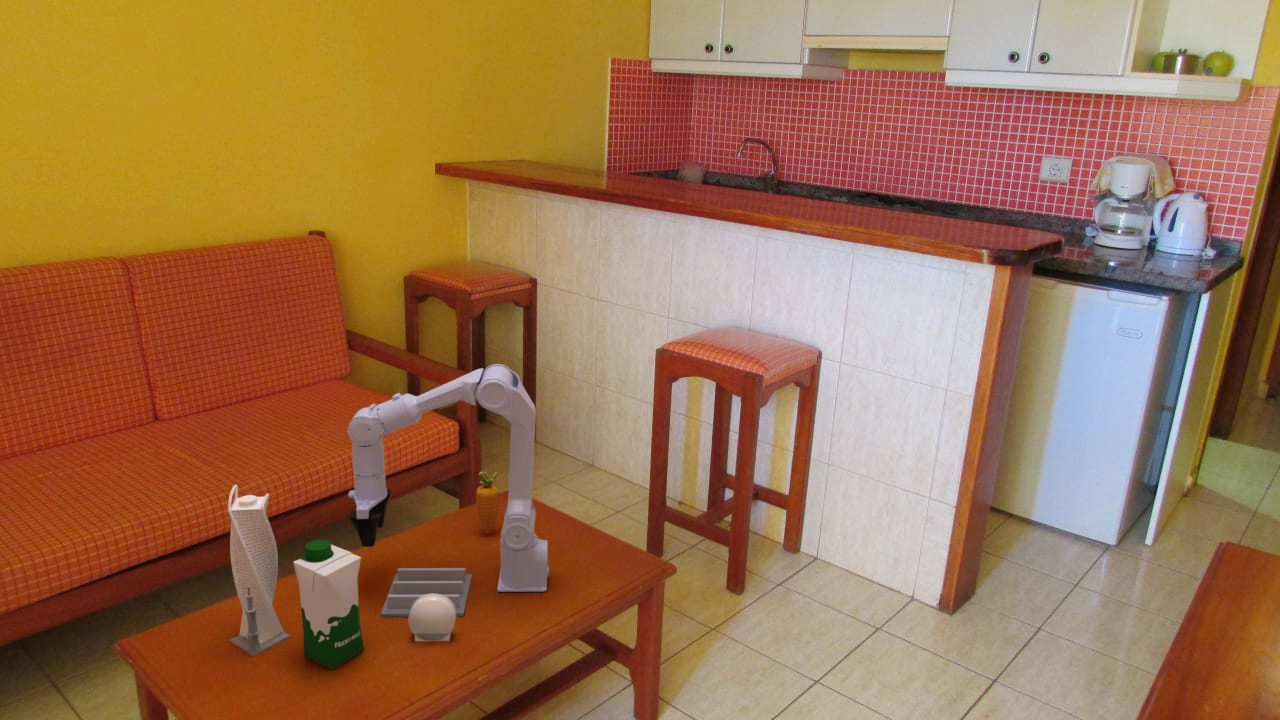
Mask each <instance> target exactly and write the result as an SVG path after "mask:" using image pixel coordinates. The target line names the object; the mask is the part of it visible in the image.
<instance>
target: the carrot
mask: <svg viewBox="0 0 1280 720" xmlns="http://www.w3.org/2000/svg"><path fill="white" fill-rule="evenodd" d="M498 475H499V473H498V472H494V473H493V474H492V477H491V478H490V476H489V474H488V473H487V471H486V472H485V471H480V472H479V473H478V476H479V478H480V481H479V484H480V486H478V487H477V489H476V494H475V495H476V509H477V513H478V518H479V522H480V524H481V527H482V529H483V531H484V533H485V534H486V535H490V534H491V533H492V531H493V529H494V528H495V526H496V523H497V518H498V515H499V504H500V503H499V501H500V498H499V497H500V492H499V489H498V487H497V486H496V485H494V482H495V480H496V478H497V476H498Z"/></svg>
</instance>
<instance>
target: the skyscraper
mask: <svg viewBox="0 0 1280 720" xmlns="http://www.w3.org/2000/svg"><path fill="white" fill-rule="evenodd" d="M238 487H239V486H238V485H237V483H236V484H234V485H233V486H232V488H231V490H230V493H229V495H228V496H229V497H228V500H227V501H228V503H227V513H228V514H229V517H230V519H231V523H230V535H229V536H230V537H229V541H230V542H229V545H230V546H229V551H230V552H229V553H230V554H229V555H230V563H231V569H232V571H231V572H232V576H233V581H234V585H235V588H236V594H237V596H238V599H239V603H240V606H241V608H242V616H241V621H240V628H239V634H238V635H236V636H235V637H232V638H231V639H229V642H230V644H232V643H233V644H232V645H234V644H235V645H234V646H235V647H237V646H238V648H239V647H240V648H241V650H242V649H243V650H242V651H243V652H245V651H246V652H245V653H247V654H248V655H250V654H251V655H250V656H252V657H256V656H258V655H259V654H261V653H263V651H264V652H265V651H267V650H269V649H271V648H273V647H275V646H276V644H277V645H278V643H279V644H280V642H281V643H282V642H285V641H286V640H288V639H290V638H291V637H290V636H291V635H290V634H288V633H286V632H285V630H284V629H283V627H282V625H281V623H280V620H279V618H278V616H277V613H276V611H275V609H274V606H273V601H274V598H275V592H276V587H277V582H278V572H279V571H278V569H279V558H278V557H279V556H278V555H279V554H278V547H277V542H276V538H275V535H274V532H273V529H272V525H271V523H270V521H269V518H268V515H267V514H266V513H267V512H266V511H267V507H268V503H269V500H270V497H271V496H270V494H269V493H268V492H267V493H265V494H264V496H257V495H254V494H249V495H244V496H241V497H238V495H239V494H238V492H239V491H238ZM233 495H234V501H233V503H232V499H233ZM240 648H239V649H240Z"/></svg>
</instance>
